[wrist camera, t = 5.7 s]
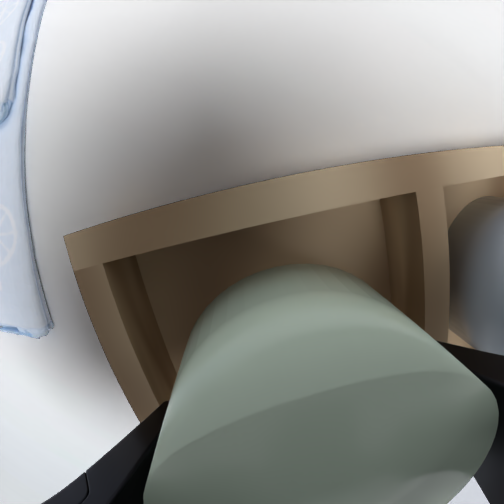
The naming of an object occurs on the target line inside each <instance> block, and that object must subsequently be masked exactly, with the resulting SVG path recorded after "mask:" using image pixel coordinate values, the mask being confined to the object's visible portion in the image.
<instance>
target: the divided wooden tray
mask: <svg viewBox="0 0 504 504" xmlns="http://www.w3.org/2000/svg"><path fill="white" fill-rule="evenodd" d="M483 196H496V197H504V146H490V147H478V148H467V149H457V150H447V151H438V152H429V153H421V154H414V155H406V156H399V157H392V158H385V159H378V160H372V161H366V162H359V163H353V164H347V165H342V166H336V167H330V168H325V169H320V170H314V171H309V172H304V173H299V174H294V175H289V176H284V177H279V178H274V179H270V180H265V181H261V182H256V183H252V184H247V185H243V186H238V187H234V188H230V189H226V190H222V191H217V192H213V193H209V194H205V195H201V196H197V197H193V198H190V199H186V200H182V201H178V202H174V203H171V204H167V205H163V206H160V207H156V208H153V209H149V210H146V211H142V212H139V213H135V214H132V215H128V216H125V217H122V218H118V219H115V220H112V221H109V222H105V223H102V224H99V225H96V226H93V227H89V228H86V229H83V230H80V231H77V232H74V233H71V234H68V235H65V236H63V237H64V241H65V244H66V248H67V251H68V255H69V258H70V262H71V265H72V268H73V271H74V274H75V277H76V280H77V283H78V286H79V289H80V292H81V295H82V298H83V301H84V303H85V306H86V309H87V311H88V314H89V317H90V319H91V322H92V324H93V327H94V329H95V332H96V334H97V336H98V339H99V341H100V343H101V346H102V348H103V350H104V353H105V355H106V357H107V359H108V361H109V364H110V366H111V368H112V370H113V372H114V374H115V376H116V378H117V380H118V382H119V384H120V386H121V388H122V390H123V392H124V394H125V396H126V398H127V400H128V402H129V403H130V405H131V407H132V409H133V411H134V413H135V414H136V416H137V418H138V420H139V421H140V423H141V422H142V421H143V420H145V419H146V418H147V417H148V416H149V415H150V414H151V413H152V412H153V411H154V410H156V409H157V408H158V407H159V406H160V405H161V404H162V403H163V402H164V401H168V400H170V397H171V394H172V390H173V387H174V384H175V381H176V377H177V374H178V371H179V367H180V364H181V361H182V358H183V355H184V351H185V348H186V345H187V342H188V339H189V336H190V333H191V331H192V329H193V327H194V325H195V323H196V321H197V319H198V318H199V317H200V315H201V314H202V312H203V311H204V310H205V308H206V307H207V306H208V305H209V304H210V303H211V302H212V301H213V300H214V299H215V298H216V297H217V296H218V295H219V294H221V293H222V292H223V291H225V290H226V289H227V288H228V287H230V286H231V285H233V284H235V283H236V282H238V281H240V280H241V279H243V278H245V277H248V276H250V275H252V274H255V273H257V272H259V271H263V270H266V269H269V268H273V267H277V266H283V265H289V264H318V265H325V266H330V267H334V268H338V269H341V270H343V271H346V272H348V273H351V274H353V275H355V276H356V277H358V278H360V279H362V280H363V281H364V282H366V283H367V284H368V285H369V286H371V287H372V288H373V289H374V290H376V291H377V292H378V293H379V294H381V295H382V296H383V297H384V298H386V299H387V300H388V301H389V302H390V303H392V304H393V305H394V306H395V307H396V308H398V309H399V310H400V311H401V312H403V313H404V314H405V315H406V316H407V317H409V318H410V319H411V320H412V321H413V322H414V323H416V324H417V325H418V326H419V327H420V328H422V329H423V330H424V331H425V332H426V333H427V334H429V335H430V336H431V337H432V338H433V339H434V340H437V341H441V342H445V343H449V344H454V345H458V346H462V347H467V348H471V349H474V348H473V347H472V346H470V345H469V344H468V343H466V342H465V341H464V340H463V339H461V338H460V337H459V336H457V335H456V334H455V333H453V332H452V331H451V330H450V329H448V328H449V307H450V265H449V243H448V229H449V227H450V226H451V224H452V222H453V221H454V219H455V218H456V217H457V215H458V214H459V213H460V212H461V210H462V209H463V208H464V207H465V206H467V205H468V204H469V203H470V202H472V201H474V200H475V199H477V198H480V197H483Z"/></svg>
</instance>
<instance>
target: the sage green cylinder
mask: <svg viewBox="0 0 504 504" xmlns="http://www.w3.org/2000/svg"><path fill="white" fill-rule="evenodd" d="M498 417H499V410H498V405H497V401H496V398H495V397H494V395H493V393H492V391H491V390H490V389H489V388H488V387H487V386H486V385H485V384H484V383H483V382H482V381H481V380H480V379H478V378H477V377H476V376H475V375H474V374H473V373H472V372H471V371H470V370H468V369H467V368H466V367H465V366H464V365H463V364H462V363H461V362H460V361H458V360H457V359H456V358H455V357H454V356H453V355H452V354H451V353H449V352H448V351H447V350H446V349H445V348H444V347H443V346H441V345H440V344H439V343H438V342H437V341H436V340H434V339H433V338H432V337H431V336H430V335H429V334H427V333H426V332H425V331H424V330H423V329H422V328H420V327H419V326H418V325H417V324H416V323H414V322H413V321H412V320H411V319H410V318H409V317H407V316H406V315H405V314H404V313H403V312H401V311H400V310H399V309H398V308H396V307H395V306H394V305H393V304H392V303H390V302H389V301H388V300H387V299H386V298H384V297H383V296H382V295H381V294H379V293H378V292H377V291H376V290H374V289H373V288H372V287H371V286H369V285H368V284H367V283H366V282H364V281H363V280H362V279H360V278H358V277H356V276H355V275H353V274H351V273H348V272H346V271H343V270H341V269H338V268H334V267H330V266H325V265H318V264H289V265H283V266H277V267H273V268H269V269H266V270H263V271H259V272H257V273H255V274H252V275H250V276H248V277H245V278H243V279H241V280H240V281H238V282H236V283H235V284H233V285H231V286H230V287H228V288H227V289H226V290H225V291H223V292H222V293H221V294H219V295H218V296H217V297H216V298H215V299H214V300H213V301H212V302H211V303H210V304H209V305H208V306H207V307H206V308H205V310H204V311H203V312H202V314H201V315H200V317H199V318H198V319H197V321H196V323H195V325H194V327H193V329H192V331H191V333H190V336H189V339H188V342H187V345H186V348H185V351H184V355H183V358H182V361H181V364H180V367H179V371H178V374H177V377H176V381H175V384H174V387H173V390H172V394H171V397H170V401H169V404H168V407H167V411H166V414H165V418H164V421H163V424H162V428H161V431H160V435H159V438H158V442H157V446H156V449H155V453H154V456H153V460H152V464H151V467H150V471H149V475H148V478H147V482H146V486H145V490H144V494H143V499H144V504H447V503H448V502H449V501H450V500H452V499H453V498H454V497H455V496H456V495H457V494H458V493H459V492H460V491H461V490H462V489H463V487H464V486H465V485H466V484H467V483H468V482H469V481H470V479H471V478H472V477H473V476H474V474H475V473H476V472H477V470H478V469H479V467H480V466H481V464H482V463H483V461H484V460H485V458H486V456H487V454H488V452H489V450H490V448H491V446H492V443H493V441H494V438H495V435H496V431H497V427H498Z"/></svg>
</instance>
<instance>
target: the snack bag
mask: <svg viewBox="0 0 504 504" xmlns="http://www.w3.org/2000/svg"><path fill="white" fill-rule="evenodd" d="M46 2H47V0H0V326H2V327H1V328H0V331H3V332H8V333H14V334H17V335H26V336H30V337H33V338H37V339H40V337H41V336H46V335H47V334H48V332H49V331H48V329H53V327H54V324H53V323H52V321H51V318H50V315H49V312H48V308H47V305H46V301H45V297H44V294H43V290H42V286H41V283H40V278H39V275H38V271H37V267H36V262H35V258H34V252H33V246H32V239H31V233H30V227H29V220H28V212H27V203H26V190H25V126H26V110H27V100H28V92H29V84H30V77H31V70H32V64H33V58H34V52H35V47H36V42H37V37H38V32H39V28H40V24H41V20H42V16H43V12H44V9H45V5H46Z"/></svg>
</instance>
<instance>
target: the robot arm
mask: <svg viewBox="0 0 504 504" xmlns="http://www.w3.org/2000/svg"><path fill="white" fill-rule="evenodd" d="M436 341H437V340H436ZM437 342H438V343H439V344H440V345H441V346H443V347H444V348H445V349H446V350H447V351H448V352H449V353H451V354H452V355H453V356H454V357H455V358H456V359H457V360H458V361H460V362H461V363H462V364H463V365H464V366H465V367H466V368H467V369H468V370H470V371H471V372H472V373H473V374H474V375H475V376H476V377H477V378H478V379H480V380H481V381H482V382H483V383H484V384H485V385H486V386H487V387H488V388H489V389H490V390H491V391H492V393H493V395H494V397H495V398H496V401H497V405H498V410H499V417H498V427H497V431H496V435H495V438H494V441H493V443H492V446H491V448H490V450H489V452H488V454H487V456H486V458H485V460H484V461H483V463H482V464H481V466H480V467H479V469H478V470H477V472H476V473H475V474H474V478H475V479H476V481H477V483H478V484H479V486H480V488H481V489H482V491H483V493H484V494H485V496H486V498H487V500H488V501H489V503H490V504H504V356H503V355H499V354H494V353H489V352H485V351H480V350H476V349H471V348H467V347H462V346H458V345H454V344H449V343H445V342H441V341H437ZM169 401H170V400H168V401H164V402H163V403H162V404H161V405H160V406H159V407H158V408H157V409H156V410H154V411H153V412H152V413H151V414H150V415H149V416H148V417H147V418H146V419H145V420H143V421H142V422H141V423H140V424H139V425H138V426H137V427H136V428H135V429H134V430H132V431H131V432H130V433H129V434H128V435H127V436H126V437H125V438H123V439H122V440H121V441H120V442H119V443H118V444H117V445H116V446H114V447H113V448H112V449H111V450H110V451H109V452H107V453H106V454H105V455H104V456H103V457H102V458H101V459H99V460H98V461H97V462H96V463H95V464H94V465H92V466H91V467H90V468H89V469H88V470H86V473H85V472H84V473H83V474H82V475H80V476H79V477H78V478H77V479H76V480H74V481H73V482H72V483H70V484H69V485H68V486H67V487H65V488H64V489H63V490H61V491H60V492H58V493H57V494H56V495H54V496H53V497H51V498H50V499H48V500H46V501H45V502H43V503H42V504H144V499H143V494H144V490H145V486H146V482H147V478H148V475H149V471H150V467H151V464H152V460H153V456H154V453H155V449H156V446H157V442H158V438H159V435H160V431H161V428H162V424H163V421H164V418H165V414H166V411H167V407H168V404H169Z"/></svg>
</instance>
